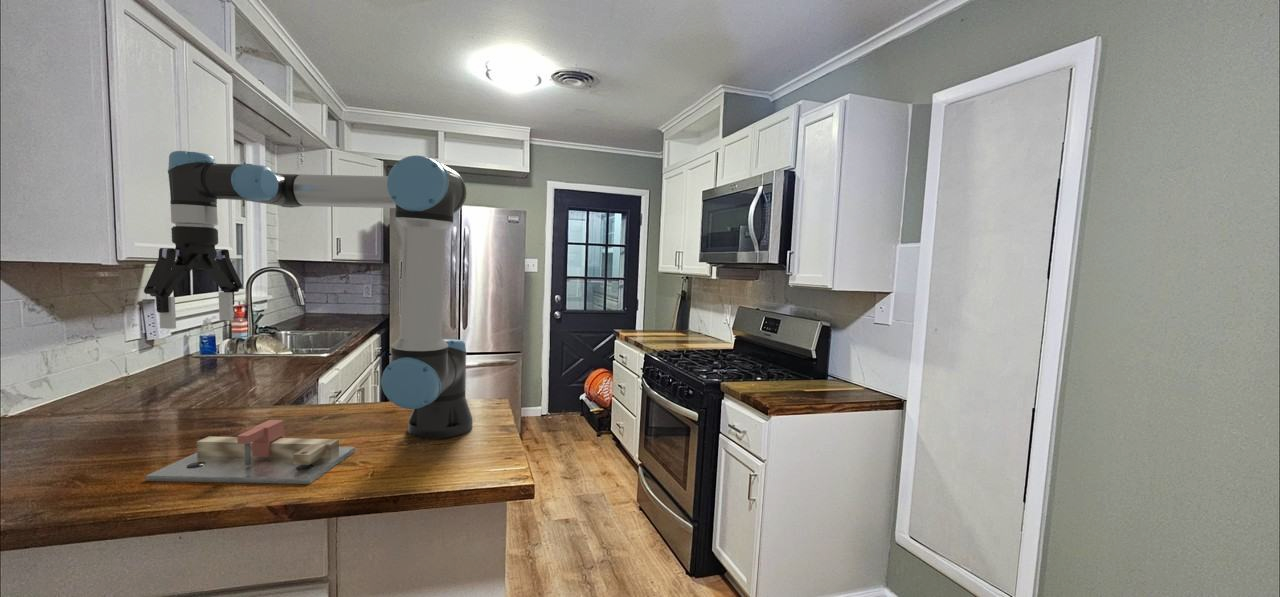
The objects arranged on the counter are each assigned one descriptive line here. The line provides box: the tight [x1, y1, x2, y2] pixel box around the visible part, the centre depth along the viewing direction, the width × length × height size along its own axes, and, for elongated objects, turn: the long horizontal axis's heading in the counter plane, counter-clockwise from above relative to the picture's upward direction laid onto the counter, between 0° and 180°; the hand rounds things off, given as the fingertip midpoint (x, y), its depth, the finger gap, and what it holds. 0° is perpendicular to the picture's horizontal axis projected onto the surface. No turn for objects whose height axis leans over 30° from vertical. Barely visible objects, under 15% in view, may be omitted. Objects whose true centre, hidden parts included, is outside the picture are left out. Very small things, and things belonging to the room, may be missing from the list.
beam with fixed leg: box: [196, 435, 340, 468], centre depth 103 cm, size 27×8×3 cm, turn 92°
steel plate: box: [145, 446, 356, 485], centre depth 102 cm, size 30×16×1 cm, turn 92°
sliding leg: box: [236, 419, 286, 465], centre depth 103 cm, size 3×10×6 cm, turn 2°
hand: (199, 324), depth 110 cm, fingers open, 13 cm apart
